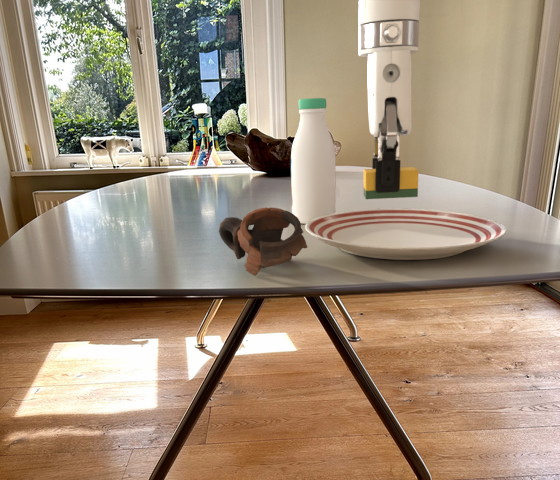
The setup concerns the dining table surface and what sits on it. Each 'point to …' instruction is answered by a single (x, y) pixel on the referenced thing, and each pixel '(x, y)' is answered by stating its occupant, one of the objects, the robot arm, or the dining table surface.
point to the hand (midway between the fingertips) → (385, 188)
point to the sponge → (406, 184)
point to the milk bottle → (313, 164)
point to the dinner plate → (404, 232)
